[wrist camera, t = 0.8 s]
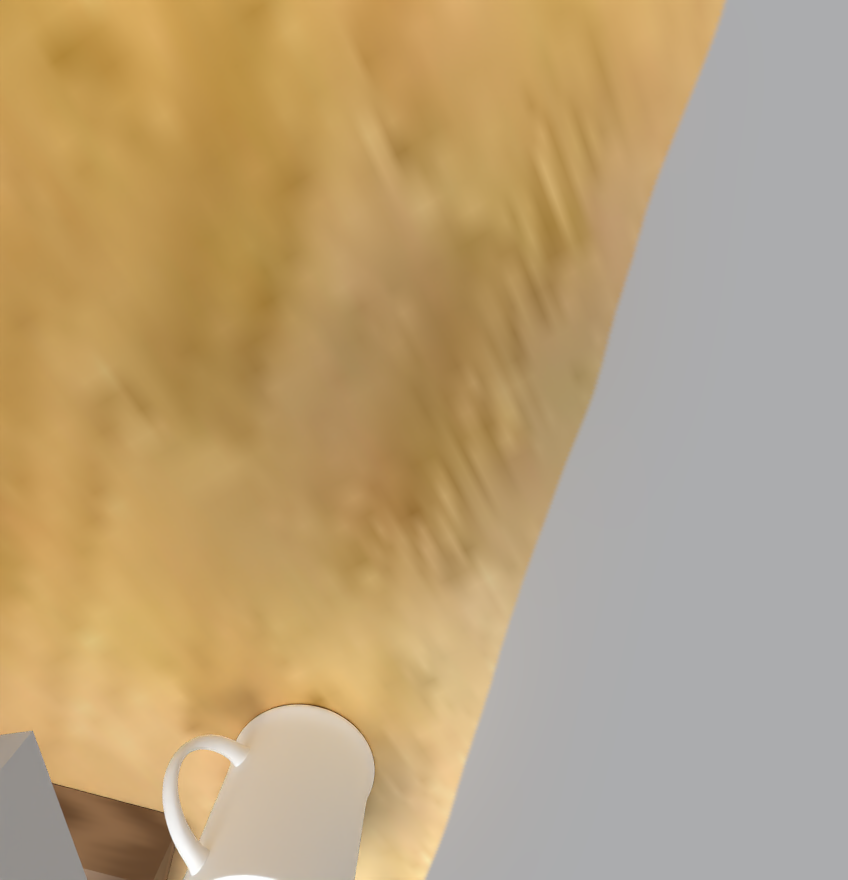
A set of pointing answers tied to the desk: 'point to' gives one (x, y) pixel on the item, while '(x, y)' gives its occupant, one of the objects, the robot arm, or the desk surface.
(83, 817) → the tray
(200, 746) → the mug
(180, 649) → the desk surface
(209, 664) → the desk surface
